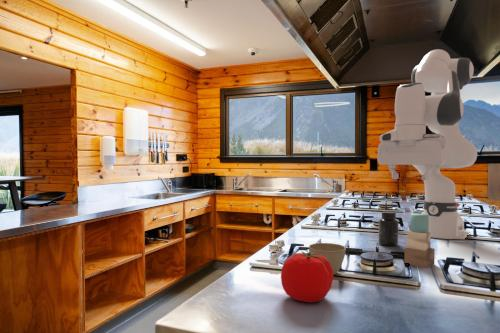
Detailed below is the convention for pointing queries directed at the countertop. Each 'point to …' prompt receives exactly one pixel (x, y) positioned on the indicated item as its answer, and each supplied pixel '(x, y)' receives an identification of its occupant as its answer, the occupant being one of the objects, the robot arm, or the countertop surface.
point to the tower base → (419, 257)
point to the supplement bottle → (388, 229)
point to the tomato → (307, 277)
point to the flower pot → (330, 253)
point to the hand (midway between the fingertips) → (409, 179)
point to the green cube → (419, 223)
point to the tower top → (418, 240)
